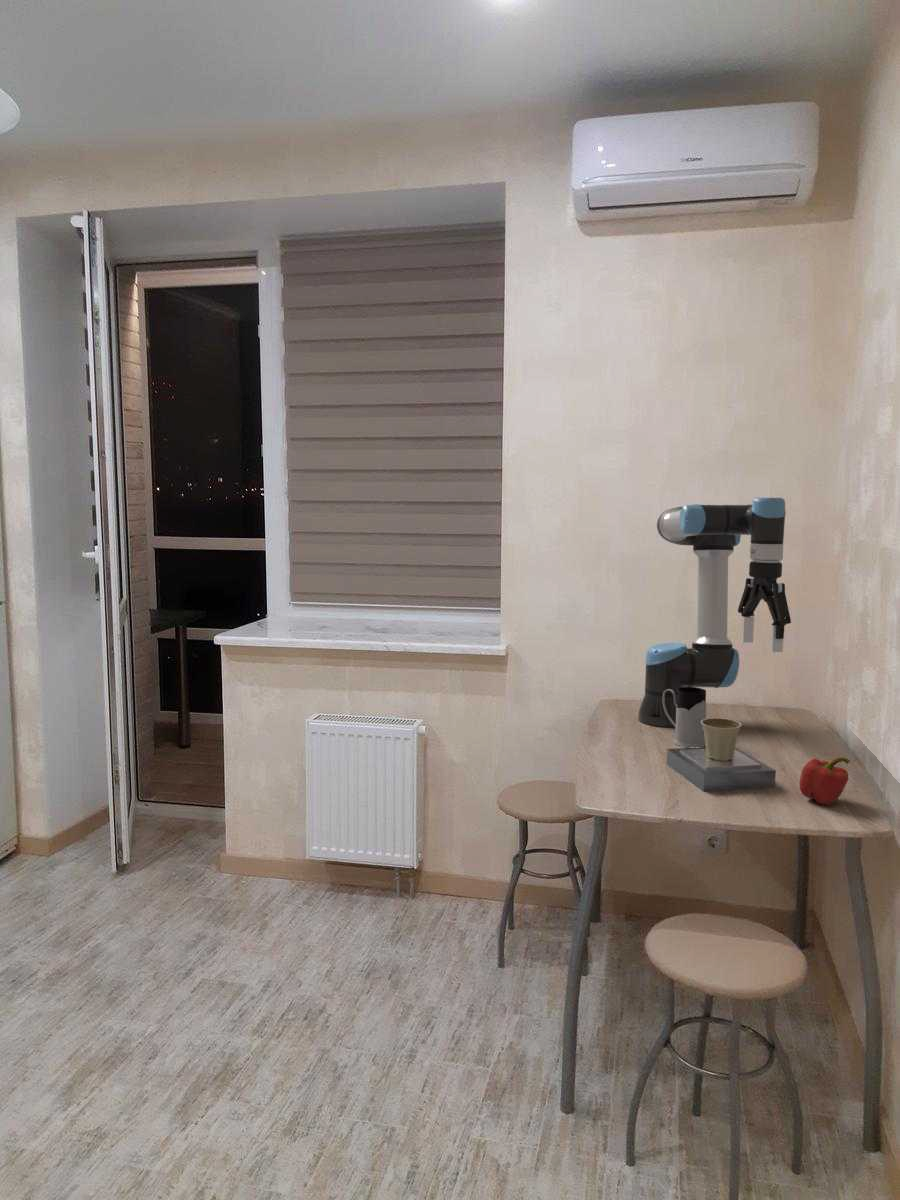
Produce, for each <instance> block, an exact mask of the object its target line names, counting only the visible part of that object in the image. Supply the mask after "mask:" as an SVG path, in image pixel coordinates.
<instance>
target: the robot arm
mask: <svg viewBox="0 0 900 1200" xmlns="http://www.w3.org/2000/svg"><path fill="white" fill-rule="evenodd" d="M786 514H787V512H786V501H785V499H784V498H782V497H755V498H754V499H753V500H752V503H751V504H721V505H720V504H698V503H697V504H694V503H693V504H685V505H683V506H677V507H672V508H669V509H667V510H665V511H663V512H662V513H661V514H660V515H659V517H658V519H657V523H656V529H657V532H658V534H659V536H660V537H661V538H662V539H663V540H664V541H667V543H668V542H669V543H671V544H674V545H679V546H693V547H692V552H693V553H694V554H695V555H696V556H697V559H698V562H697V563H698V566H697V567H698V568H697V574H698V575H697V577H698V578H697V631H696V632H697V636H696V638H695V639H693V641H692V642H691V648H688V647H687V645H686V643H682V642H665V643H657V644H654V645H652V646H650V647H649V648H647V651H646V656H645V661H644V662H645V663H644V664H645V680H644V696H643V698H642V701H641V703H640V707H639V709H638V714H637V720H638V721H639V722H641V723H643V724H646V725H650V726H654V727H655V726H656V727H664V728H665V727H667V728H670V727H671V728H675V727H674V725H673V724H672V723H671V721H670V720H669V718H668V717H667V715H666V713H665V711H664V707H663V702H662V696H663V692H664V691H665V690H667V689H671V690H673V691H674V692H675V694H676V703H677V696H678V688H681V687H696V688H714V689H719V688H729V687H731V686H733V684H734V683H735V681H736V680H737V678H738V673H739V668H740V655H739V651H738V650H737V649H735V648H733V642H732V641H731V640H730V639H729V637H728V612H729V611H728V606H729V605H728V604H729V603H728V602H729V601H728V596H729V594H728V592H729V591H728V590H729V558H730V555H732V554H734V549H735V547H736V546H739V544H740V543H741V537H742V535H743V536H744V535H745V536H746V535H747V536H750V548H749V553H750V554H749V559H750V560H752V561H750V562H749V564H748V565H749V567H748V568H749V569H748V570H749V572H748V575H749V577H750V578H749V577H748V578H745V583H744V584H745V585H744V590H743V592H742V596H741V598H740V601H739V605H738V607H737V612H738V614H740V615H741V617H742V624H741V625H742V628H741V630H742V631H741V632H742V633H741V643H742V644H743V643H748V644H749V643H754V630H755V629H754V628H755V616H756V615H755V611H756V609H757V607H758V606H759V604H760V602H761V600H763V601H764V602H765V603H766V604H767V608H768V609H769V613H770V615H771V616H770V617H771V618H772V620H773V622H772V624H771V637H770V639H771V640H770V652H771V653H783V651H784V639H785V626H786V625H789V624H791V623H792V619H791V615H790V611H789V610H790V609H789V607H788V606H789V605H788V601H787V596H786V585H785V583H783V582H780V583H778V582H777V579H779V578H781V577H782V576H783V575H782V574H783V563H782V562H781V561H782V560H783V559H784V537H785V524H786V523H785V522H786ZM665 706H666V709H667V712H668V714H669V716H670V717H671V719H672V720H673V722H674V723H675V724H676V707H677V706H675V704H674V696H673V693H672V692H671V691H669V690H667V691H666V693H665Z"/></svg>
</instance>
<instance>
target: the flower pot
mask: <svg viewBox="0 0 900 1200" xmlns="http://www.w3.org/2000/svg"><path fill="white" fill-rule="evenodd" d="M701 724H702V726H703V730H704V735H705V744H706V746H705V747H706V754H707V757H708V758H713V759H714V760H718V761H728V760H729V759H733V756H734V750H735V747H736V743H737V739H738V734H739V733H740V729H741V728H742V723H741V722H739V721H738V720H734V719H731V718H730V719H729V718H724V717H723V718H721V717H711V718H710V717H709V718H706V719H703V720H701Z"/></svg>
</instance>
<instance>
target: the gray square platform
mask: <svg viewBox="0 0 900 1200" xmlns="http://www.w3.org/2000/svg"><path fill="white" fill-rule="evenodd" d="M667 764H668V765H669V766H668V765H667ZM666 765H667V766H668V767H670V768H671V767H672V768H673V769H672V768H671V769H672V770H673V771H675V770H676V771H677V772H676V771H675V772H676V773H678V772H679V773H680V774H679V773H678V774H679V775H680V776H682V775H683V776H684V777H683V776H682V777H683V778H685V777H686V778H687V779H688V780H687V779H686V778H685V779H686V780H687V781H689V782H690V781H691V782H692V784H693V785H694V786H696V787H697V788H698V787H699V789H700V790H701V791H702V792H708V791H709V792H712V791H713V792H714V791H727V790H728V791H729V790H742V789H743V790H744V789H745V790H746V789H762V788H764V787H766V788H775V787H776V773H777V770H775V769H774V768H772V767H771V766H769V765H768V764H765V763H763V762H762V761H761V760H758V759H757V758H755V757H753V756H752V755H750V754H748V753H747V752H745V751H744V750H741V749H739V748H738V747H736V746H735V750H734V756H733V759H729V760H728V761H718V760H714V759H713V758H708V757H707V754H706V746H705V747H699V748H687V747H681V748H680V747H679V748H667V749H666ZM691 782H690V783H691Z"/></svg>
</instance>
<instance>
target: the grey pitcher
mask: <svg viewBox="0 0 900 1200" xmlns="http://www.w3.org/2000/svg"><path fill="white" fill-rule="evenodd" d="M667 690H669V691H671V692H672V693H673V696H674V704H675V706H677V707H676V724H675V723H674V722H673V720H672V719H671V717H670V716H669V714H668V712H667V709H666V706H665V693H666V691H667ZM667 690H665V691H664V692H663V696H662V702H663V707H664V711H665V713H666V715H667V717H668V718H669V720H670V721H671V723H672V724H673V725H674V727H673V728H675V729H674V730H675V735H674V738H673V741H674V743H675V744H674V743H673V744H674V745H676V744H677V745H676V746H678V745H681V746H684V747H683V748H687V747H694V748H695V747H704V746H705V747H706V744H705V735H704V730H703V726H702V724H701V720H703V719H707V717H706V716H707V701H706V700H707V690H706V689H704V688H702V687H681V688H678V696H677V703H676V694H675V692H674V691H673V690H671V689H667ZM681 746H680V747H681Z"/></svg>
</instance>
